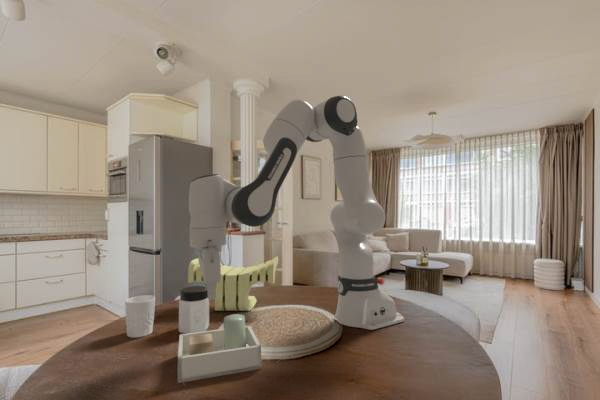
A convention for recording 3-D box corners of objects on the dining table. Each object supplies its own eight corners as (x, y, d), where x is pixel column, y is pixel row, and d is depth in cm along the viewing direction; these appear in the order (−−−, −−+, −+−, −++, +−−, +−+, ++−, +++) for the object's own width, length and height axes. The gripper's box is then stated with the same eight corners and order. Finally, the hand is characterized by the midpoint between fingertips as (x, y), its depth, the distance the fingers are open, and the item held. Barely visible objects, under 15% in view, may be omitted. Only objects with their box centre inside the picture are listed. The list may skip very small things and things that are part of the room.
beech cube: (211, 354, 76) (211, 333, 76) (212, 363, 71) (212, 341, 71) (189, 357, 74) (189, 336, 74) (189, 367, 70) (189, 344, 70)
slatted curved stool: (187, 313, 109) (188, 262, 110) (203, 300, 125) (203, 255, 126) (273, 314, 108) (273, 262, 109) (278, 300, 124) (278, 255, 124)
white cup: (159, 333, 92) (159, 298, 92) (130, 341, 86) (130, 304, 86) (148, 326, 97) (149, 293, 97) (120, 333, 91) (121, 299, 91)
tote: (249, 344, 83) (249, 325, 84) (261, 368, 71) (261, 346, 71) (179, 354, 77) (179, 334, 78) (177, 383, 65) (177, 358, 65)
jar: (182, 336, 89) (182, 294, 89) (175, 328, 95) (176, 288, 96) (213, 330, 94) (213, 289, 94) (205, 322, 100) (205, 284, 101)
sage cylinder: (238, 347, 79) (237, 312, 79) (249, 354, 75) (249, 317, 75) (220, 355, 75) (219, 318, 75) (231, 363, 72) (230, 324, 72)
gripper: (226, 241, 70) (228, 303, 70) (217, 235, 89) (218, 283, 89) (196, 243, 68) (198, 307, 68) (193, 236, 87) (195, 286, 87)
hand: (210, 293), depth 78 cm, fingers open, 8 cm apart
